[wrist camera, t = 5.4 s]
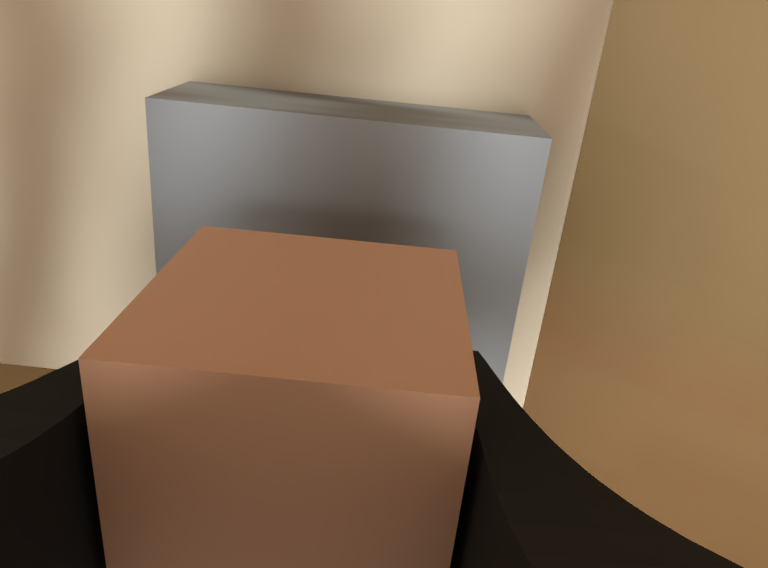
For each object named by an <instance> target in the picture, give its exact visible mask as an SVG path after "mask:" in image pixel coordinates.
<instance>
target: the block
mask: <svg viewBox="0 0 768 568" xmlns="http://www.w3.org/2000/svg"><path fill="white" fill-rule="evenodd" d="M78 362H79V369H80V376H81V384H82V391H83V399H84V406H85V413H86V421H87V428H88V436H89V443H90V450H91V458H92V465H93V472H94V480H95V487H96V495H97V502H98V509H99V517H100V524H101V532H102V539H103V546H104V554H105V561H106V568H450V564H451V558H452V553H453V547H454V541H455V536H456V530H457V525H458V519H459V513H460V508H461V502H462V497H463V491H464V486H465V480H466V474H467V469H468V463H469V458H470V452H471V447H472V441H473V435H474V430H475V424H476V419H477V413H478V408H479V402H480V394H479V387H478V381H477V375H476V369H475V362H474V356H473V350H472V344H471V338H470V331H469V325H468V319H467V313H466V306H465V300H464V294H463V288H462V281H461V275H460V269H459V263H458V256H457V250H448V249H437V248H427V247H417V246H407V245H396V244H386V243H376V242H365V241H355V240H345V239H334V238H324V237H314V236H303V235H293V234H283V233H273V232H262V231H252V230H242V229H231V228H221V227H211V226H202V227H201V228H200V229H199V230H198V231H197V232H196V233H195V234H194V235H193V236H192V237H191V238H190V239H189V241H188V242H187V243H186V244H185V245H184V246H183V247H182V248H181V249H180V250H179V251H178V252H177V253H176V254H175V256H174V257H173V258H172V259H171V260H170V261H169V262H168V263H167V264H166V265H165V266H164V267H163V268H162V269H161V270H160V272H159V273H158V274H157V275H156V276H155V277H154V278H153V279H152V280H151V281H150V282H149V283H148V284H147V285H146V286H145V288H144V289H143V290H142V291H141V292H140V293H139V294H138V295H137V296H136V297H135V298H134V299H133V300H132V301H131V302H130V304H129V305H128V306H127V307H126V308H125V309H124V310H123V311H122V312H121V313H120V314H119V315H118V316H117V317H116V318H115V320H114V321H113V322H112V323H111V324H110V325H109V326H108V327H107V328H106V329H105V330H104V331H103V332H102V333H101V334H100V336H99V337H98V338H97V339H96V340H95V341H94V342H93V343H92V344H91V345H90V346H89V347H88V348H87V349H86V350H85V352H84V353H83V354H82V355H81V356H80V357H79V358H78Z"/></svg>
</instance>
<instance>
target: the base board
mask: <svg viewBox="0 0 768 568" xmlns="http://www.w3.org/2000/svg"><path fill="white" fill-rule="evenodd" d="M612 4H613V0H0V363H3V364H13V365H23V366H32V367H42V368H52V369H59V368H61V367H63V366H65V365H68V364H70V363H72V362H74V361H76V360H78V358H79V357H80V356H81V355H82V354H83V353H84V352H85V350H86V349H87V348H88V347H89V346H90V345H91V344H92V343H93V342H94V341H95V340H96V339H97V338H98V337H99V336H100V334H101V333H102V332H103V331H104V330H105V329H106V328H107V327H108V326H109V325H110V324H111V323H112V322H113V321H114V320H115V318H116V317H117V316H118V315H119V314H120V313H121V312H122V311H123V310H124V309H125V308H126V307H127V306H128V305H129V304H130V302H131V301H132V300H133V299H134V298H135V297H136V296H137V295H138V294H139V293H140V292H141V291H142V290H143V289H144V288H145V286H146V285H147V284H148V283H149V282H150V281H151V280H152V279H153V278H154V277H155V276H156V275H157V274H158V273H159V272H160V270H161V269H162V268H163V267H164V266H165V265H166V264H167V263H168V262H169V261H170V260H171V259H172V258H173V257H174V256H175V254H176V253H177V252H178V251H179V250H180V249H181V248H182V247H183V246H184V245H185V244H186V243H187V242H188V241H189V239H190V238H191V237H192V236H193V235H194V234H195V233H196V232H197V231H198V230H199V229H200V228H201V227H202V226H211V227H221V228H231V229H242V230H252V231H262V232H273V233H283V234H293V235H303V236H314V237H324V238H334V239H345V240H355V241H365V242H376V243H386V244H396V245H407V246H417V247H427V248H437V249H448V250H457V256H458V263H459V269H460V275H461V281H462V288H463V294H464V300H465V306H466V313H467V319H468V325H469V331H470V338H471V344H472V350H474V351H479V352H480V354H481V355H482V356H483V358H484V359H485V360H486V362H487V363H488V364H489V366H490V367H491V369H492V370H493V371H494V373H495V374H496V375H497V377H498V378H499V379H500V381H501V382H502V383H503V385H504V386H505V387H506V389H507V390H508V391H509V393H510V394H511V395H512V396H513V398H514V399H515V400H516V401H517V402H518V404H519V405H520V406H521V407H522V408H523V405H524V401H525V396H526V392H527V387H528V383H529V378H530V374H531V369H532V365H533V360H534V356H535V351H536V347H537V342H538V338H539V333H540V329H541V324H542V320H543V315H544V311H545V306H546V302H547V297H548V293H549V288H550V284H551V279H552V275H553V270H554V266H555V261H556V257H557V252H558V248H559V243H560V239H561V234H562V230H563V225H564V221H565V216H566V212H567V207H568V203H569V198H570V194H571V189H572V185H573V180H574V176H575V171H576V167H577V162H578V158H579V153H580V149H581V144H582V139H583V135H584V130H585V126H586V121H587V117H588V112H589V108H590V103H591V99H592V94H593V90H594V85H595V81H596V76H597V72H598V67H599V63H600V58H601V54H602V49H603V45H604V40H605V36H606V31H607V27H608V22H609V18H610V13H611V9H612Z"/></svg>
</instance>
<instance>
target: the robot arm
mask: <svg viewBox="0 0 768 568" xmlns="http://www.w3.org/2000/svg"><path fill="white" fill-rule="evenodd" d="M473 356H474V362H475V369H476V375H477V381H478V387H479V394H480V402H479V408H478V413H477V419H476V424H475V430H474V435H473V441H472V447H471V452H470V458H469V463H468V469H467V474H466V480H465V486H464V491H463V497H462V502H461V508H460V513H459V519H458V525H457V530H456V536H455V541H454V547H453V553H452V558H451V564H450V568H743V567H741V566H739V565H737V564H735V563H734V562H732V561H730V560H728V559H726V558H724V557H722V556H720V555H718V554H716V553H714V552H712V551H710V550H708V549H706V548H704V547H702V546H700V545H698V544H696V543H694V542H692V541H690V540H689V539H687V538H685V537H683V536H682V535H680V534H678V533H677V532H675V531H673V530H672V529H670V528H668V527H667V526H665V525H663V524H662V523H660V522H658V521H657V520H655V519H653V518H652V517H650V516H648V515H647V514H645V513H644V512H642V511H641V510H639V509H638V508H636V507H635V506H633V505H632V504H630V503H629V502H627V501H626V500H624V499H623V498H622V497H620V496H619V495H618V494H616V493H615V492H613V491H612V490H611V489H609V488H608V487H607V486H605V485H604V484H602V483H601V482H600V481H598V480H597V479H596V478H595V477H593V476H592V475H591V474H590V473H588V472H587V471H586V470H585V469H584V468H582V467H581V466H580V465H579V464H578V463H577V462H576V461H574V460H573V459H572V458H571V457H570V456H569V455H567V454H566V453H565V452H564V451H563V450H562V449H561V448H560V447H559V446H558V445H557V444H555V443H554V442H553V441H552V440H551V439H550V438H549V437H548V436H547V435H546V434H545V432H544V431H543V430H542V429H541V428H540V427H539V426H538V425H537V424H536V423H535V422H534V421H533V420H532V419H531V418H530V417H529V415H528V414H527V413H526V412H525V411H524V410H523V408H522V407H521V406H520V405H519V404H518V402H517V401H516V400H515V399H514V398H513V396H512V395H511V394H510V393H509V391H508V390H507V389H506V387H505V386H504V385H503V383H502V382H501V381H500V379H499V378H498V377H497V375H496V374H495V373H494V371H493V370H492V369H491V367H490V366H489V364H488V363H487V362H486V360H485V359H484V358H483V356H482V355H481V354H480V352H479V351H474V350H473ZM0 568H106V561H105V554H104V546H103V539H102V532H101V524H100V517H99V509H98V502H97V495H96V487H95V480H94V472H93V465H92V458H91V450H90V443H89V436H88V428H87V421H86V413H85V406H84V399H83V391H82V384H81V376H80V369H79V362H78V360H76V361H74V362H72V363H70V364H68V365H65V366H63V367H61V368H59V369H57V370H55V371H53V372H51V373H48V374H46V375H44V376H42V377H40V378H38V379H36V380H34V381H31V382H29V383H27V384H24V385H22V386H19V387H17V388H15V389H12V390H10V391H7V392H5V393H2V394H0Z"/></svg>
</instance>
